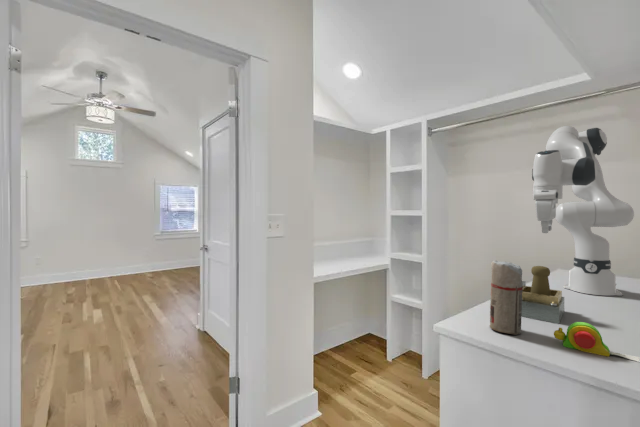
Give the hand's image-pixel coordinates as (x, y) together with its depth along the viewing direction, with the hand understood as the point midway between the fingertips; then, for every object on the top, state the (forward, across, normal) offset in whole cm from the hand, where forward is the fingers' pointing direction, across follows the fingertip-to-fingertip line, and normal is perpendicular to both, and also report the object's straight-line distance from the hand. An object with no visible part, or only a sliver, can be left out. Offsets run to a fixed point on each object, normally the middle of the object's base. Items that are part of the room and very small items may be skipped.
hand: (546, 231), depth 113 cm
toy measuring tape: (+26, +39, +15) cm, 49 cm away
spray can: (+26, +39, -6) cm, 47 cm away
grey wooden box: (+27, +14, 0) cm, 30 cm away
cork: (+22, +14, 0) cm, 26 cm away
